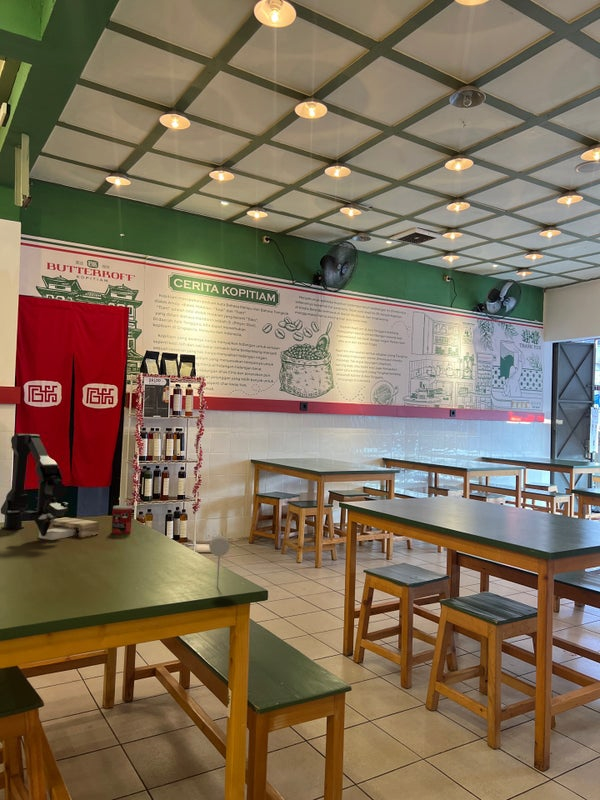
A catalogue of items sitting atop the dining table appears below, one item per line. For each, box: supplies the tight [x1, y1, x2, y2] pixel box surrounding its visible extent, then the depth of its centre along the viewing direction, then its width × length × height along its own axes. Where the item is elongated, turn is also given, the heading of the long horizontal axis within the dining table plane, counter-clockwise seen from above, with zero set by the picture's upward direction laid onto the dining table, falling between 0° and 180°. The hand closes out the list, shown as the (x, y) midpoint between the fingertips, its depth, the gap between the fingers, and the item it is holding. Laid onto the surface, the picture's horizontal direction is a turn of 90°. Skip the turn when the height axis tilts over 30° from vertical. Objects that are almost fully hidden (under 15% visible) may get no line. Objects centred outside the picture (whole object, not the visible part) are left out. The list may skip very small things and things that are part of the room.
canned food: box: [111, 504, 133, 535], centre depth 252 cm, size 8×8×11 cm
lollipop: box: [208, 535, 231, 588], centre depth 177 cm, size 6×6×15 cm
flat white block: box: [38, 527, 76, 541], centre depth 238 cm, size 7×12×2 cm, turn 156°
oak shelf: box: [48, 516, 100, 538], centre depth 246 cm, size 18×9×5 cm, turn 66°
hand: (43, 535), depth 232 cm, fingers closed
